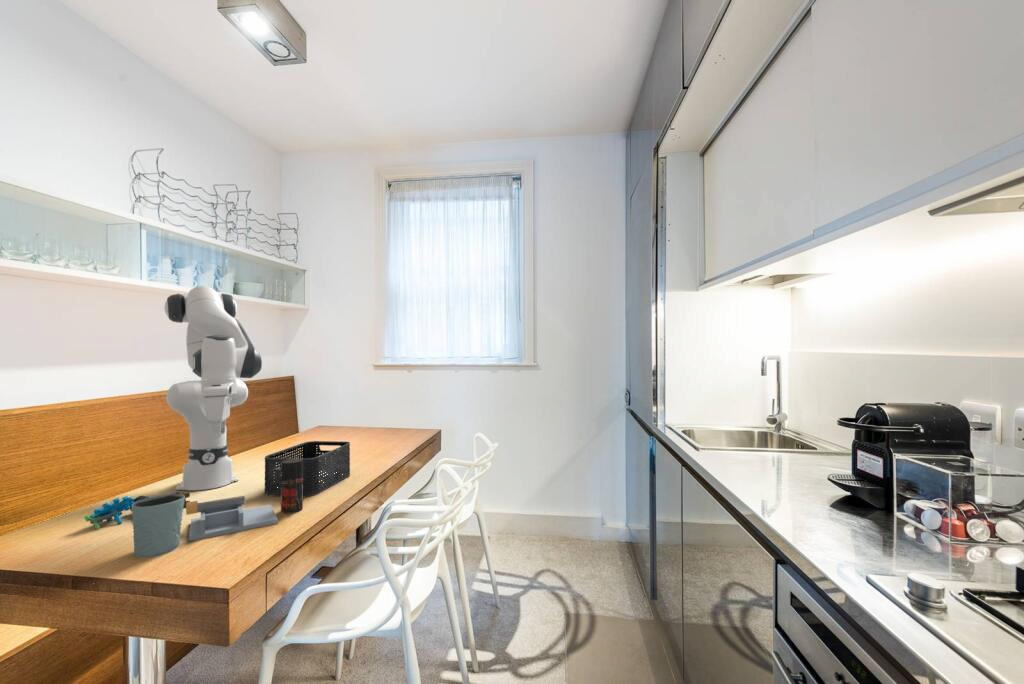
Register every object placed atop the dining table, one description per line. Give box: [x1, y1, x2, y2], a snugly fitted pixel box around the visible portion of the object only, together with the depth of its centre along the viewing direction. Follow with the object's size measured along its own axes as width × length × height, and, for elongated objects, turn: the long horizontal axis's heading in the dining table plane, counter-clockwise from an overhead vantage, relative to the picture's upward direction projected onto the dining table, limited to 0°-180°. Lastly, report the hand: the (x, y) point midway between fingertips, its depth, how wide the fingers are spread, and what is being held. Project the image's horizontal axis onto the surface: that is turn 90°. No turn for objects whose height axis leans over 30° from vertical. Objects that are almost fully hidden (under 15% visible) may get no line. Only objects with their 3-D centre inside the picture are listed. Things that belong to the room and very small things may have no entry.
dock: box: [188, 504, 278, 542], centre depth 122 cm, size 15×20×5 cm
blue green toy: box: [84, 495, 135, 531], centre depth 123 cm, size 11×6×10 cm
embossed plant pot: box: [131, 493, 186, 559], centre depth 106 cm, size 10×10×12 cm
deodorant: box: [280, 458, 304, 515], centre depth 133 cm, size 6×6×15 cm
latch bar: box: [185, 495, 246, 516], centre depth 121 cm, size 3×13×3 cm, turn 125°
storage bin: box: [264, 440, 351, 498], centre depth 161 cm, size 29×19×13 cm
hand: (219, 435), depth 128 cm, fingers open, 8 cm apart
